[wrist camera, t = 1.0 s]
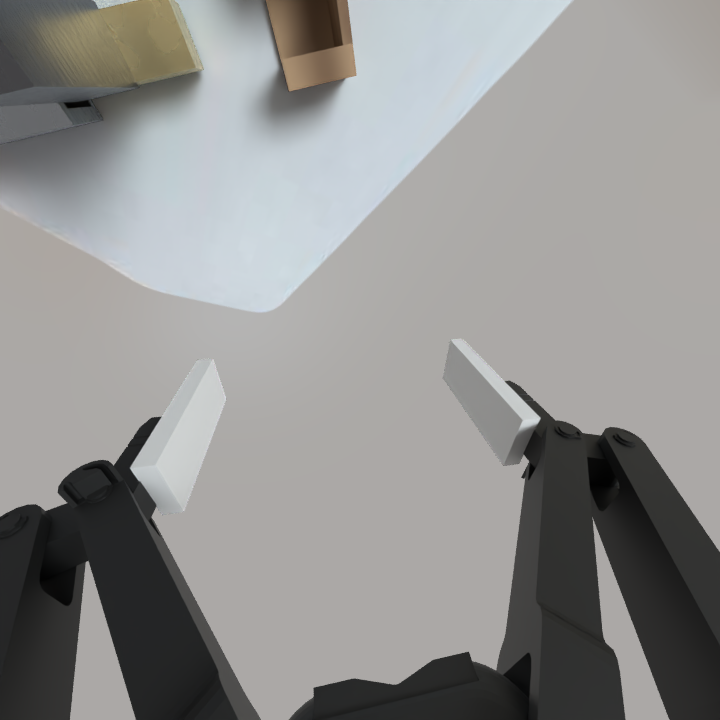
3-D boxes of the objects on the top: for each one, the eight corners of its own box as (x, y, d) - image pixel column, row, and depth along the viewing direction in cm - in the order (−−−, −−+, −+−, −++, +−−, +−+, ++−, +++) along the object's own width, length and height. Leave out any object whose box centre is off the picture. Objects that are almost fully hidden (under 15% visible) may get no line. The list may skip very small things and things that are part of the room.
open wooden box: (288, 91, 28) (289, 91, 24) (248, -68, 22) (241, -101, 18) (346, 77, 28) (356, 75, 24) (323, -84, 22) (332, -121, 18)
